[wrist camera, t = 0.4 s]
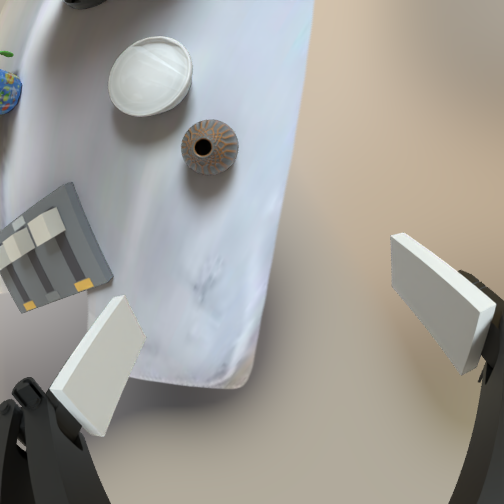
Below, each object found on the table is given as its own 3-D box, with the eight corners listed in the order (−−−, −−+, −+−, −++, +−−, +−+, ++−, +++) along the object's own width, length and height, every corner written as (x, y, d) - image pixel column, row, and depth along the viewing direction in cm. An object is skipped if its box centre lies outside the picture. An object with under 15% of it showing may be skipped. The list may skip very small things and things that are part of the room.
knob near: (42, 216, 36) (27, 223, 32) (56, 206, 35) (41, 213, 32) (51, 238, 37) (37, 246, 34) (65, 229, 37) (51, 238, 33)
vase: (214, 112, 34) (203, 102, 26) (250, 146, 36) (250, 146, 28) (178, 148, 36) (158, 150, 27) (214, 182, 37) (203, 193, 29)
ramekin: (203, 46, 30) (197, 33, 25) (194, 119, 34) (185, 116, 29) (129, 51, 30) (114, 41, 25) (120, 120, 34) (102, 118, 29)
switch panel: (-7, 239, 40) (-14, 243, 38) (72, 181, 37) (63, 184, 34) (27, 308, 46) (21, 314, 43) (113, 275, 43) (107, 282, 40)
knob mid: (15, 234, 37) (2, 242, 33) (26, 227, 36) (12, 234, 33) (24, 254, 38) (11, 262, 35) (35, 247, 38) (21, 256, 34)
